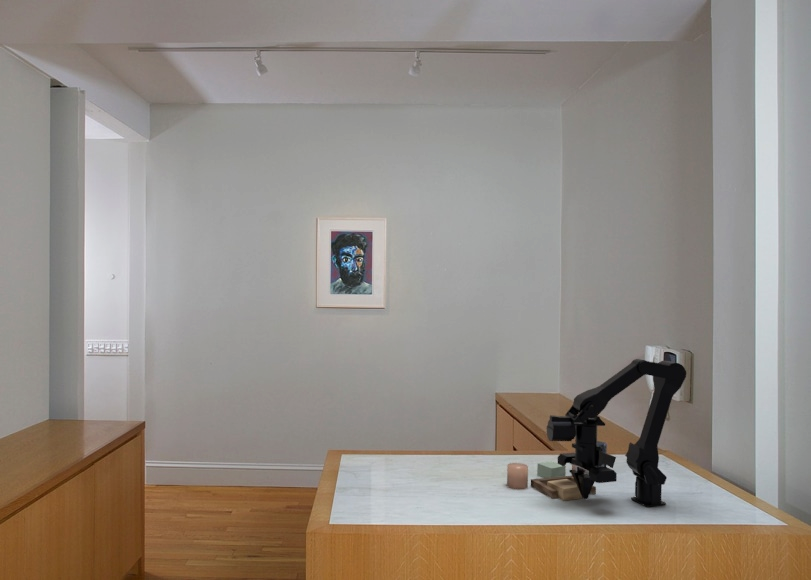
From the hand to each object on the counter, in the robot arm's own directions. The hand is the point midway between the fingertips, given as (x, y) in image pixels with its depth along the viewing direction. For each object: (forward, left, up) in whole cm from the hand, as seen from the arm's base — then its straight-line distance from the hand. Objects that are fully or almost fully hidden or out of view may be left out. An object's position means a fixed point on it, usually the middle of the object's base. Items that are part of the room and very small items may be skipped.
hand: (585, 498), depth 156 cm
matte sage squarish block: (+22, -4, -1) cm, 22 cm away
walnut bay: (+11, 0, -1) cm, 11 cm away
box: (+19, -17, -1) cm, 25 cm away
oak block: (+6, +2, -1) cm, 7 cm away
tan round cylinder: (+17, +11, -1) cm, 20 cm away
